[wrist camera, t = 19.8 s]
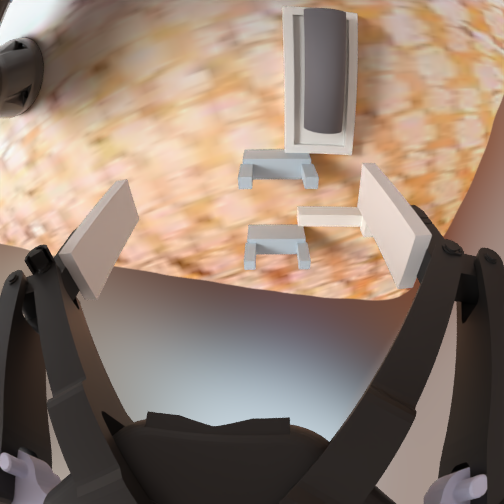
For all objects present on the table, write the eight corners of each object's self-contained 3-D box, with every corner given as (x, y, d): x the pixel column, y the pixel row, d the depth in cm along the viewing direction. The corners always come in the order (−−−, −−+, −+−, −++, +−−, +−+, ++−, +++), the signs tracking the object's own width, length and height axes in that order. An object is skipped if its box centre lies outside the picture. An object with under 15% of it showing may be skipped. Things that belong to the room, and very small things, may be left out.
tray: (281, 8, 26) (282, 6, 25) (353, 15, 26) (357, 13, 24) (284, 149, 39) (285, 152, 38) (348, 151, 39) (351, 155, 37)
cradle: (242, 149, 39) (237, 171, 33) (309, 149, 39) (319, 171, 32) (247, 239, 49) (244, 273, 43) (303, 239, 49) (309, 272, 42)
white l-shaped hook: (297, 203, 34) (300, 219, 31) (376, 205, 33) (385, 220, 31) (296, 220, 36) (299, 236, 33) (372, 221, 35) (381, 237, 32)
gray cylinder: (300, 11, 25) (307, 6, 21) (339, 15, 25) (351, 12, 21) (300, 122, 36) (307, 133, 32) (336, 123, 35) (346, 134, 32)
